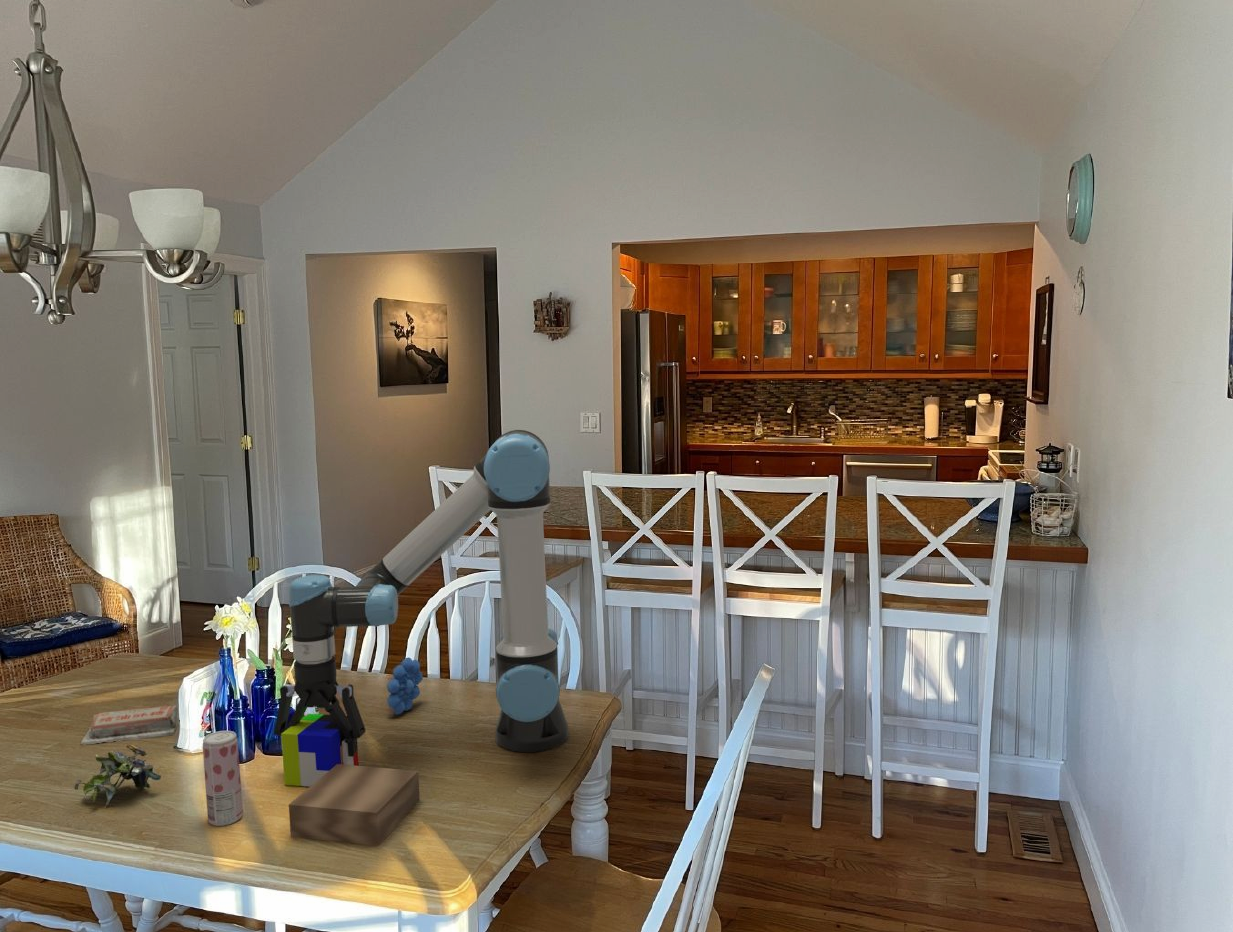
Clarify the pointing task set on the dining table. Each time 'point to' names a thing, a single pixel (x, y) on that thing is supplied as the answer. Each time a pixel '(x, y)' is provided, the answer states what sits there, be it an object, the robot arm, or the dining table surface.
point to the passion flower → (120, 765)
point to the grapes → (404, 685)
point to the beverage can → (222, 778)
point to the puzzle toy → (312, 749)
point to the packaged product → (132, 724)
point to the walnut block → (354, 804)
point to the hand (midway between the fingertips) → (322, 770)
